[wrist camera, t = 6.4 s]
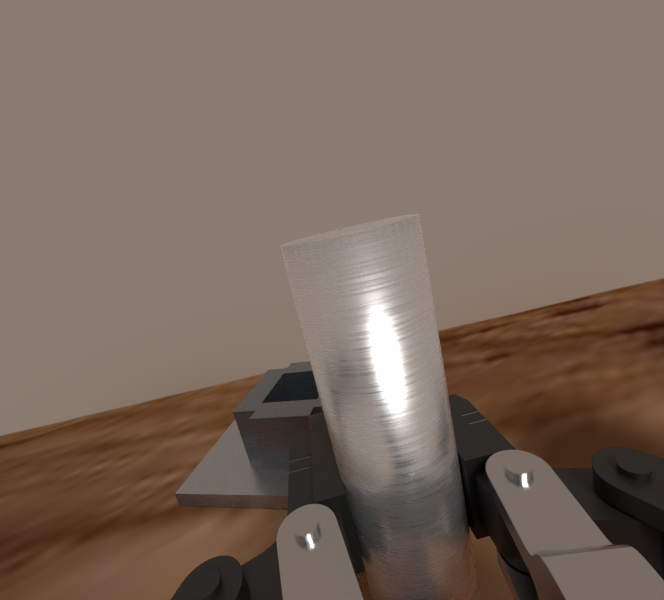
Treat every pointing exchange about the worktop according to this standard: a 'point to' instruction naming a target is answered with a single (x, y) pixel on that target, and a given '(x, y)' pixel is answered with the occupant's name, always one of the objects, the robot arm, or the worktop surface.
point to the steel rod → (386, 403)
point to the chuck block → (256, 444)
